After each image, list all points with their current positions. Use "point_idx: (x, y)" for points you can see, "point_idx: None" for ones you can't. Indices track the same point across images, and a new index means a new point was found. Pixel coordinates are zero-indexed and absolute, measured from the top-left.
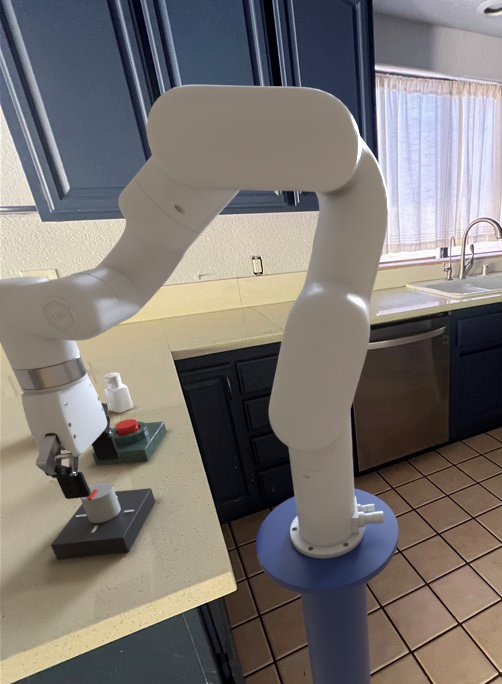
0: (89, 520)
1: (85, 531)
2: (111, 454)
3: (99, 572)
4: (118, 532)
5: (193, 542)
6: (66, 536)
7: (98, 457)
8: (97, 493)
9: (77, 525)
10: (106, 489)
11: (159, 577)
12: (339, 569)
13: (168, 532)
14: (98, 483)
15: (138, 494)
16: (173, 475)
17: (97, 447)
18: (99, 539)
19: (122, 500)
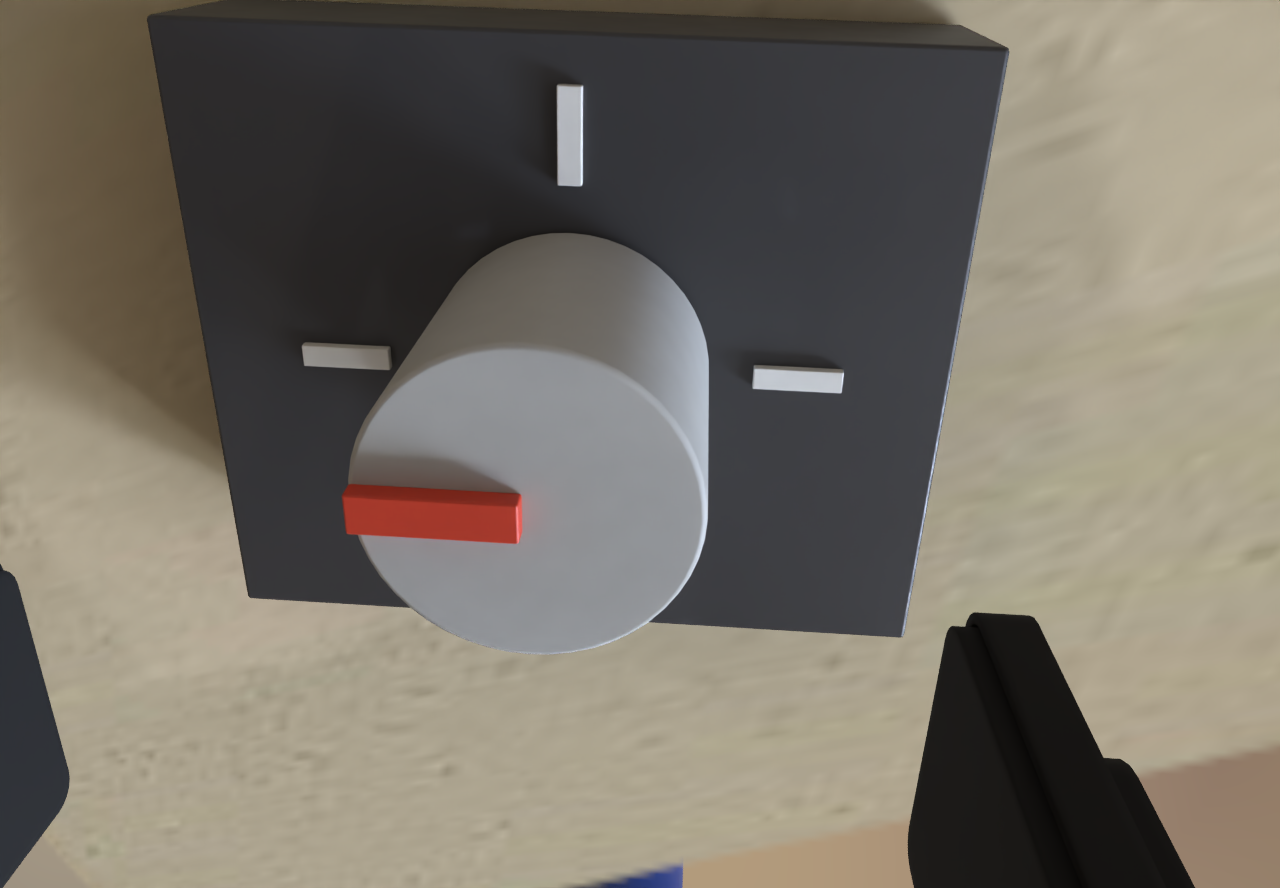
0: (469, 269)
1: (328, 282)
2: (928, 878)
3: (121, 389)
4: (303, 553)
5: (376, 831)
6: (263, 127)
7: (955, 682)
8: (471, 541)
9: (421, 165)
10: (543, 606)
11: (104, 723)
12: None
13: (484, 697)
14: (695, 481)
15: (826, 562)
16: (1261, 598)
17: (1006, 882)
18: (226, 438)
19: (761, 453)
